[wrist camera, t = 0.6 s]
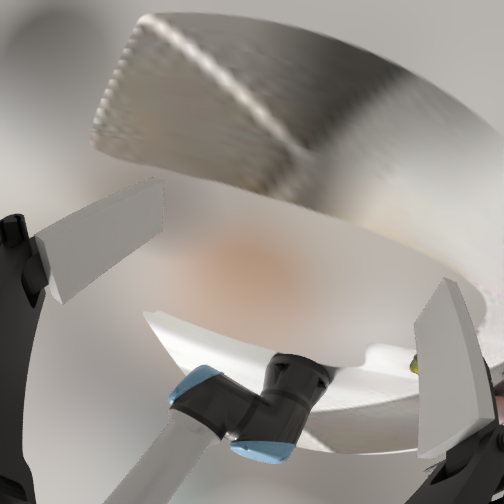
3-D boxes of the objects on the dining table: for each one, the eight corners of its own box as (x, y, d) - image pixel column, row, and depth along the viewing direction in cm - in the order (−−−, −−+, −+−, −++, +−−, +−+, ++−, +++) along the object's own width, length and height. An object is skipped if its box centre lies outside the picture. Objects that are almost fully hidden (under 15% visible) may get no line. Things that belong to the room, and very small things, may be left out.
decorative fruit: (514, 387, 32) (517, 422, 24) (495, 404, 36) (495, 438, 29) (491, 383, 35) (493, 421, 27) (471, 401, 40) (470, 437, 32)
